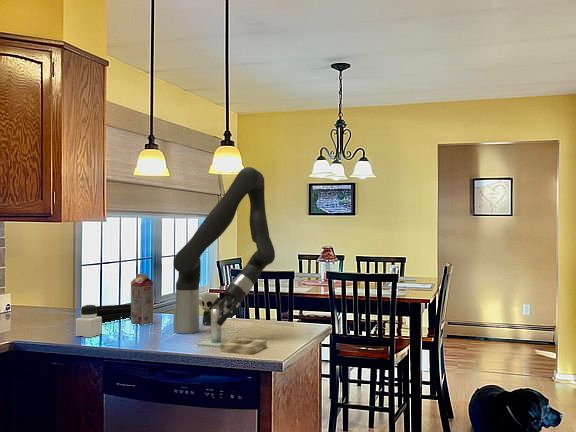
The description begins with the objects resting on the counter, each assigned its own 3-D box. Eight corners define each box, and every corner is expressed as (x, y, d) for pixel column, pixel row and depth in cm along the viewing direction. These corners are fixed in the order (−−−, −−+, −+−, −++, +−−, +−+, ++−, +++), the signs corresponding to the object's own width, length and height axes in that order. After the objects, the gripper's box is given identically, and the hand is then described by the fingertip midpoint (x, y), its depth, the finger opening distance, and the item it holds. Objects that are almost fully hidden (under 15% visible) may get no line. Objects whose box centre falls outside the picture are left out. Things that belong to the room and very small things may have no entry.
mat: (196, 345, 209) (196, 343, 209) (210, 339, 219) (210, 338, 219) (221, 347, 206) (221, 345, 206) (234, 341, 215) (234, 340, 215)
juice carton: (141, 326, 249) (141, 274, 249) (131, 324, 252) (130, 274, 252) (153, 323, 254) (153, 273, 254) (142, 322, 258) (142, 273, 258)
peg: (209, 342, 211) (208, 309, 211) (214, 340, 215) (213, 308, 215) (217, 343, 210) (217, 310, 210) (222, 341, 213) (222, 308, 213)
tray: (108, 326, 249) (108, 314, 249) (65, 323, 258) (65, 311, 258) (149, 315, 277) (149, 305, 277) (109, 313, 285) (109, 302, 286)
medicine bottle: (102, 334, 230) (102, 304, 230) (90, 338, 223) (90, 307, 223) (87, 333, 232) (87, 303, 233) (75, 337, 226) (75, 306, 226)
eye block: (220, 351, 199) (220, 344, 199) (236, 344, 210) (236, 337, 210) (252, 354, 195) (252, 347, 195) (266, 347, 206) (266, 340, 206)
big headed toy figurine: (194, 324, 251) (194, 294, 251) (203, 322, 257) (203, 293, 258) (216, 326, 247) (216, 296, 247) (224, 324, 253) (224, 294, 253)
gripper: (222, 281, 223) (196, 313, 215) (243, 284, 211) (216, 318, 204) (234, 293, 226) (208, 326, 219) (255, 297, 215) (229, 332, 207)
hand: (212, 322), depth 211 cm, fingers open, 8 cm apart
